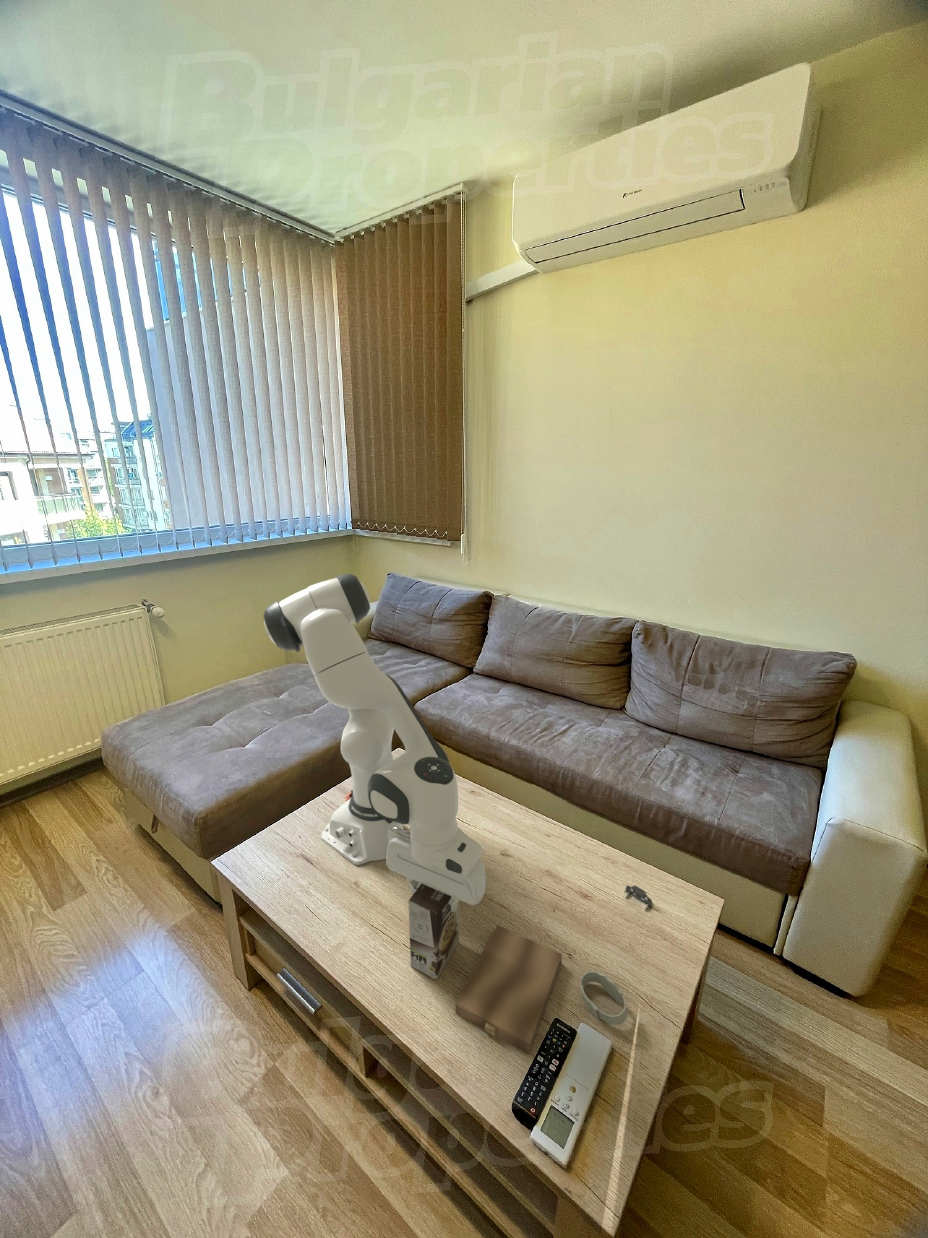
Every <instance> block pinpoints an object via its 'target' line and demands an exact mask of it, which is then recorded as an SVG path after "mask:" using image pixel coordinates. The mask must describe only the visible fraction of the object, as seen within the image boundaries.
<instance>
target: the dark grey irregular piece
mask: <svg viewBox="0 0 928 1238" xmlns="http://www.w3.org/2000/svg"><path fill="white" fill-rule="evenodd" d="M624 893H626V895H625V899H627V898H628V896H631V897H632V898H634V899H635V900H637V901H638V900H639V903H641V904H643V905H645V908H644V911H646V910H647V909H648V908H649V907H650V908H649V909H651V910H652V909H653V900H652V899H651V898H650V897H649V896H648V895H647V891H645V890H643V889H642V888H641V887H639V886H638V885H632V886H630V885H626V887H625V890H624ZM646 905H647V906H646ZM648 906H649V907H648ZM646 908H647V909H646Z"/></svg>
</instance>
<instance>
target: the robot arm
mask: <svg viewBox="0 0 928 1238" xmlns="http://www.w3.org/2000/svg"><path fill="white" fill-rule="evenodd" d="M370 610H371V599H370V594H369V591H368V589H367V587H366V586H365V584H364V583H363V582H362V581H361V580H360V578H358V576H356V575H354V574H353V573H345V574H340V575H336V577H334V578H330V579H327V580H323V581H319V582H317V583H314V584H312V585H309V586H307V587H306V588H304V589H301V590H300V591H297V592H295V593H293V594H291V595H289V596H288V597H285V598H284V599H282V600H280V601H278V600H277V601H275V602H273V603H272V604H270V605H268V607H266V608H265V610H264V613H263V626H264V631H265V633H266V635H267V637H268V638H269V639H270V641H271V642H272V643H273V644H274V645H275V646H276V647H277V648H278V649H280V650H284V651H295V653H296V652H297V653H298V652H299V653H300V652H301V647H302V646H303V650H304V653H305V657H306V660H307V662H308V665H309V668H310V670H311V673H312V674H313V677H314V680H315V682H316V684H317V686H318V689H319V690H320V692H321V694H322V695H323V697H324V698H325V699H326V700H327V701H328V702H329V703H331V704H333V705H335V706H337V707H339V708H342V709H347V711H348V714H349V719H348V721H347V722H346V725H345V726H344V728H343V730H342V734H341V739H340V754H341V755H342V758H343V759H344V760H345V762H346V763H348V765H349V768H350V773H351V782H352V784H351V785H352V789H351V790H350V793H348V794H347V795H346V796H345V797H344V799H345V800H344V803H342V804H341V805H340V806H338V808H337V809H336V810H334V812H333V813H332V815H331V818H330V821H329V822H328V824H327V825H326V826H325V828H324V829H323V830H322V831H321V835H320V840H321V841H322V842H323V843H324V842H325V843H324V844H326V845H327V846H328V845H329V846H328V847H330V848H331V847H332V848H333V849H332V848H331V849H332V850H334V851H335V850H336V851H335V852H337V853H338V854H339V853H340V854H339V855H340V856H342V855H343V856H344V857H343V856H342V857H343V858H345V860H346V859H347V861H349V862H350V863H351V864H353V865H355V866H360V865H364V864H365V863H368V862H373V861H374V862H376V861H382V860H386V861H385V863H386V866H387V867H388V869H389V870H390V871H392V872H394V873H396V874H399V875H401V876H404V877H406V878H405V879H406V881H407V883H408V885H409V887H410V888H411V895H413V894H414V893H415V891H416V890H417V889H418V888H419V886H420V885H421V884H424V885H426V886H429V887H431V888H433V889H436V890H438V891H440V892H443V893H445V894H447V895H450V896H452V897H450V899H449V901H448V902H447V910H449V911H451V912H455V910H456V908H457V906H458V907H459V901H461V902H464V903H466V904H468V905H470V906H473V907H475V906H477V905H478V904H480V902H481V901H482V899H483V897H484V895H485V893H486V886H487V885H486V884H487V883H486V882H487V881H486V879H487V878H486V870H485V869H486V868H485V864H484V862H483V861H482V859H481V856H482V853H483V846H482V845H481V844H480V843H479V842H477V841H476V840H474V839H473V838H471V837H470V836H469V835H468V834H466V833H465V832H464V831H463V830H462V829H460V828H459V826H458V821H457V816H458V812H459V787H458V781H457V780H458V779H457V777H456V773H455V771H454V768H453V767H452V765H451V764H450V759H449V758H450V757H448V756H449V755H448V754H447V752H446V751H445V750H444V748H443V747H442V746H441V745H440V744H439V742H437V741H436V740H435V738H434V737H433V735H432V734H431V732H430V731H429V730H428V728H427V726H426V725H425V723H424V722H423V720H422V719H421V717H420V716H419V714H418V712H417V711H416V710H417V709H415V707H414V706H413V704H412V703H411V701H410V699H409V698H408V696H407V695H406V693H405V691H404V690H403V689H402V687H401V686H400V685H399V683H398V682H397V681H396V680H395V679H394V678H393V677H392V676H390V675H387V674H385V673H384V672H383V671H381V670H380V669H379V667H378V666H377V665H376V663H375V662H374V661H373V658H372V657H371V656H370V654H369V652H368V649H367V647H366V645H365V643H364V641H363V640H362V637H361V636H360V634H359V632H358V631H357V629H356V627H354V625H353V623H356V624H357V625H359V624H360V622H361V621H362V620H363V619H364V618H366V617H367V616H368V614H369V612H370ZM394 731H395V733H396V734H397V736H398V737H399V739H400V741H401V742H402V744H403V746H404V752H403V753H402V754H400V755H399V756H398V757H395V759H394V758H393V757H394V756H393V753H392V743H393V742H392V741H393V736H394ZM403 825H405V826H406V825H409V827H410V828H409V830H406V829H404V826H403Z"/></svg>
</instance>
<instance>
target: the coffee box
mask: <svg viewBox="0 0 928 1238" xmlns="http://www.w3.org/2000/svg"><path fill="white" fill-rule="evenodd" d="M411 895H412V896H411V897H410V898H409V899H408V924H409V926H408V929H409V930H408V931H409V953H410V954H409V955H410V956H409V958H410V959H409V962H410V963H409V964H410V966H411V967H412V968H414V969H416V970H417V971H420V972H421V973H423V974H425V975H426V976H428V977H430V978H432V979H434V980H438V979H439V977H440V975H441V973H442V972H443V970H444V968H445V967H446V965H447V963H448V961H449V960H450V958H451V956H452V954H453V953H454V951H455V950H456V948H457V946H458V944H459V943H460V939H459V937H460V936H459V933H460V931H459V929H460V928H459V925H460V924H459V921H460V920H459V905H458V906H457V908H456V910H455V912H451V911H449V910H447V902H448V901H449V899H450V897H452V896H450V895H447V894H445V893H443V892H440V891H438V890H436V889H433V888H431V887H429V886H426V885H424V884H422V883H421V885H420V886H419V888H418V889H417V890H416V891H415V893H414V894H411Z"/></svg>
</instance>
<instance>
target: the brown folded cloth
mask: <svg viewBox="0 0 928 1238" xmlns="http://www.w3.org/2000/svg"><path fill="white" fill-rule="evenodd" d="M562 959H563V953H561V952H558V951H557V950H554V949H551V948H550V947H547V946H545V945H543V944H540V943H538V942H536V941H534V940H532V939H529V938H528V937H526V936H523V935H521V934H518V933H516V932H514V931H512V930H510V929H507V928H505V927H502V926H501V925H498V924H497V925H496V926H495V928H494V930H493V932H492V933H491V935H490V938H489V939H488V941H487V943H486V945H485V947H484V948H483V951H482V953H481V954H480V956H479V958H478V959H477V962H476V964H475V966H474V967H473V970H472V972H471V973H470V975H469V976H468V977H469V978H468V979H467V981H466V983H465V984H464V987H463V988H462V990H461V992H460V994H459V996H458V997H457V1000H456V1001H455V1014H456V1015H458V1016H460V1017H462V1018H464V1019H465V1020H466V1021H469V1022H470V1023H472V1024H474V1025H476V1026H478V1027H479V1028H481V1029H483V1030H484V1031H485V1032H486V1033H488V1034H490V1035H491V1036H492V1037H496V1038H499V1039H501V1040H502V1041H504V1042H506V1043H507V1044H510V1045H511V1046H513V1047H515V1048H516V1049H519V1050H520V1051H522V1052H524V1053H525V1054H528V1055H530V1054H531V1050H532V1048H533V1044H534V1042H535V1039H536V1036H537V1034H538V1030H539V1028H540V1025H541V1021H542V1019H543V1017H544V1014H545V1011H546V1008H547V1006H548V1003H549V999H550V998H551V997H550V996H551V994H552V991H553V989H554V986H555V983H556V980H557V977H558V974H559V972H560V968H561V966H562Z"/></svg>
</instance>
